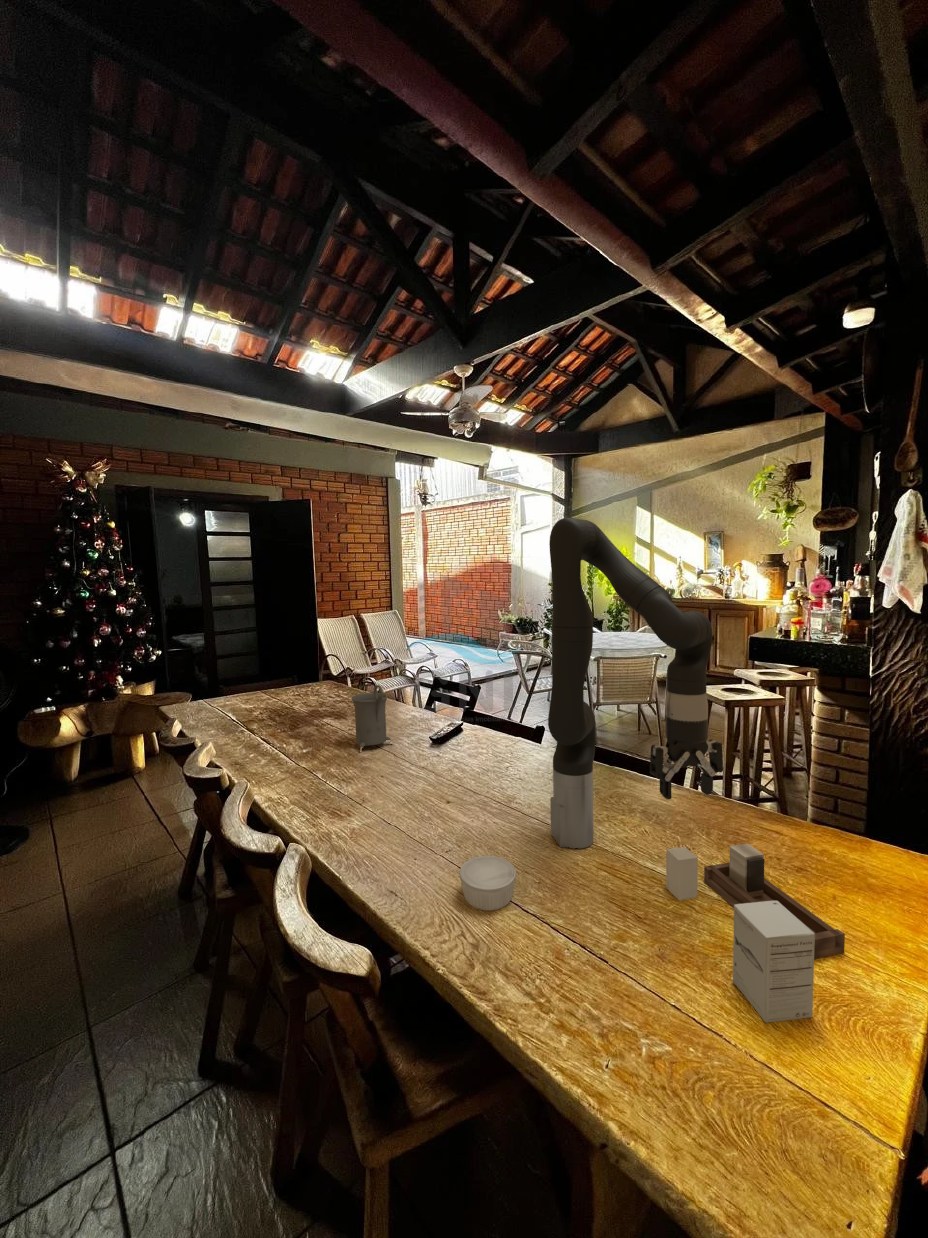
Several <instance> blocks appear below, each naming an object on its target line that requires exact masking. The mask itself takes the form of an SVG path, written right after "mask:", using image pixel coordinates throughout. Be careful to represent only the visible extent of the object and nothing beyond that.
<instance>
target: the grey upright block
mask: <svg viewBox="0 0 928 1238" xmlns="http://www.w3.org/2000/svg"><path fill="white" fill-rule="evenodd" d="M665 851H666V852H665V853H666V855H665V856H666V860H665V861H666V868H665V869H666V872H665V874H666V877H665V879H666V882H665V883H666V885H665V886H666V887H665V888H666V889H667V890H668V891H669V893H671V895H673V896H674V897H675V898H676V899H677V900H678V901H685V900H688V899H689V900H691V899H696V898H698V881H699V880H698V878H699V877H698V874H699V873H698V868H699V867H698V865H699V863H698V862H699V861H698V859H699V858H698V856H696V855H695V854H694V853H693V852H692V851H691V850H689V849H688V848H687V847H686V846H679V847H674V848H667V849H666V850H665Z"/></svg>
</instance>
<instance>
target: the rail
mask: <svg viewBox="0 0 928 1238" xmlns="http://www.w3.org/2000/svg"><path fill="white" fill-rule="evenodd" d="M703 868H704V871H703V872H704V874H703V875H704V876H703V879H704V880H703V882H704V883H705V884H706V885H708V887H709V888H711V889H712V890H713V891H714V892H716V894H717V895H719V896H720V897H721V898H722V899H724V901H726V902H727V903H728V904H730V906H731V907H733V908H734V905H735V904H744V903H754V902H763V901H778V902H780V903H781V904H782V905H783V906H784V907H785V908H786V909H787V910H789V911H790V912H791V913H792V914H793V915H794V916H796V918H798V919H799V920H800V921H801V922H802V923H803V924H804V925H806V926H807V927H808V928H809V929H810V930H811V931H813V932H814V934H815V945H814V960H815V959H820V958H825V957H829V956H834V955H838V954H844V953H845V944H846V943H845V942H846V941H845V938H846V937H845V935H846V934H845V933H844V932H843V931H841V929H839V928H836V929H835V928H834V927H832V926H831V925H829V924H828V923H827V922H825V921H824V920H823V919H821V918H820V917H819V916H817V915H816V914H815V913H813V912H812V911H810V910H809V909H807V908H806V907H805V906H803V905H802V904H800V902H798V901H796V899H794V898H793V897H791V896H789V895H788V894H787V893H786V892H784V891H782V890H781V888H779V887H777V886H776V885H774V884H773V883H772V882H771V881H769V880H768V879H767V878H765V855H764V853H762V852H761V851H760V850H758V849H756V848H755V847H753V846H752V845H750V844H749V843H743V844H737V845H730V846H729V862H723V863H718V864H712V865H711V864H710V865H705V866H704V867H703Z"/></svg>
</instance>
